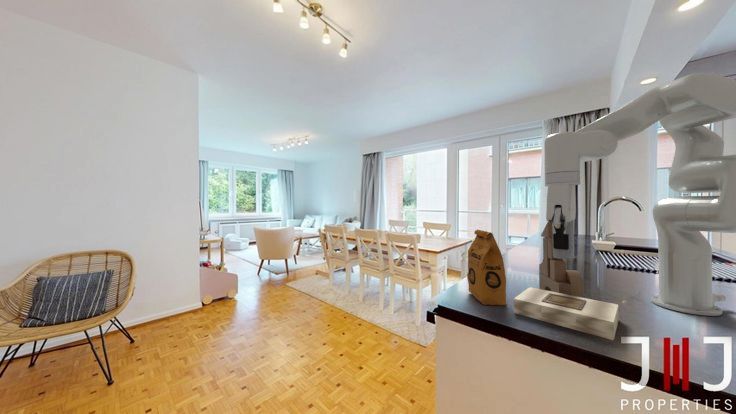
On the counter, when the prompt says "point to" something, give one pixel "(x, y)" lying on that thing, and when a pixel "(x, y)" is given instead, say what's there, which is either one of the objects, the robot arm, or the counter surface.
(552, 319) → the rectangular box
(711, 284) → the robot arm
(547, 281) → the wooden toy
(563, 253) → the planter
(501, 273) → the coffee package
